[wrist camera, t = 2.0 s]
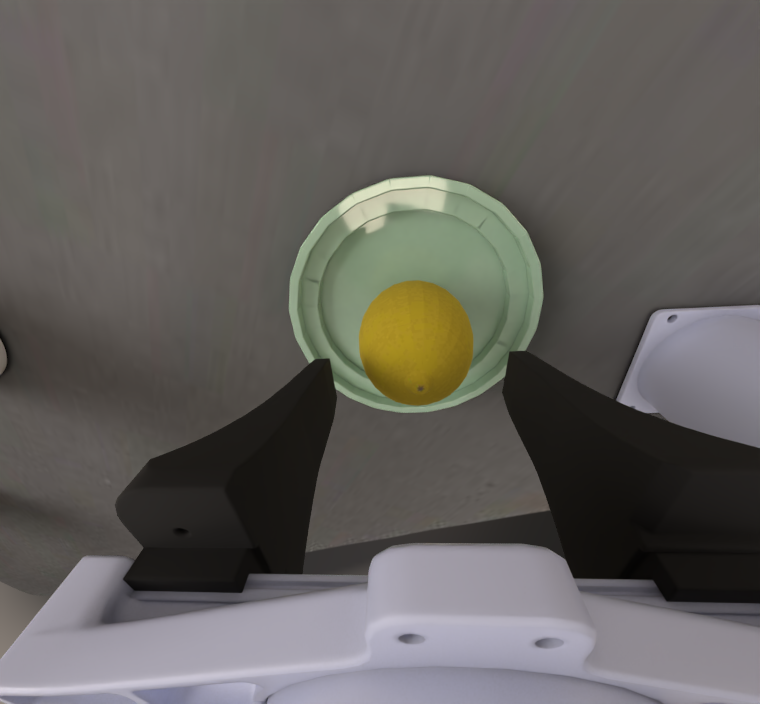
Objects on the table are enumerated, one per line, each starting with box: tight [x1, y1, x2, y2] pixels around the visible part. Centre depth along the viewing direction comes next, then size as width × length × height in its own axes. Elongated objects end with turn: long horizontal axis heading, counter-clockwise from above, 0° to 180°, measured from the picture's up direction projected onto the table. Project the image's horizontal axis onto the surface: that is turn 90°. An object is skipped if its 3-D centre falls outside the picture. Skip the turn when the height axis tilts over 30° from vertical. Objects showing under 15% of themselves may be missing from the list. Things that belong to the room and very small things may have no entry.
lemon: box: [359, 280, 473, 406], centre depth 15 cm, size 6×6×8 cm
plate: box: [289, 175, 543, 413], centre depth 18 cm, size 14×14×2 cm
